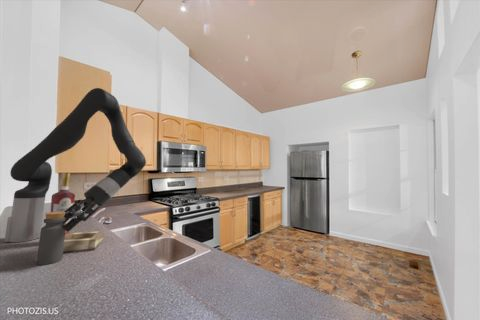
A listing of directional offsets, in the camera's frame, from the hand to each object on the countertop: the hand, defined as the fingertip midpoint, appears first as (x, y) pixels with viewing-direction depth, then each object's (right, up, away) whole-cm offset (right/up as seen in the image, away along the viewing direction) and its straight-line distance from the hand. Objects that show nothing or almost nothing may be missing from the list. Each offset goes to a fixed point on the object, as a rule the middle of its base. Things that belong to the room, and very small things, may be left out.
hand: (60, 227), depth 64 cm
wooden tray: (-3, -11, +11) cm, 16 cm away
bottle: (-1, -10, -2) cm, 10 cm away
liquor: (-15, -11, +15) cm, 25 cm away
